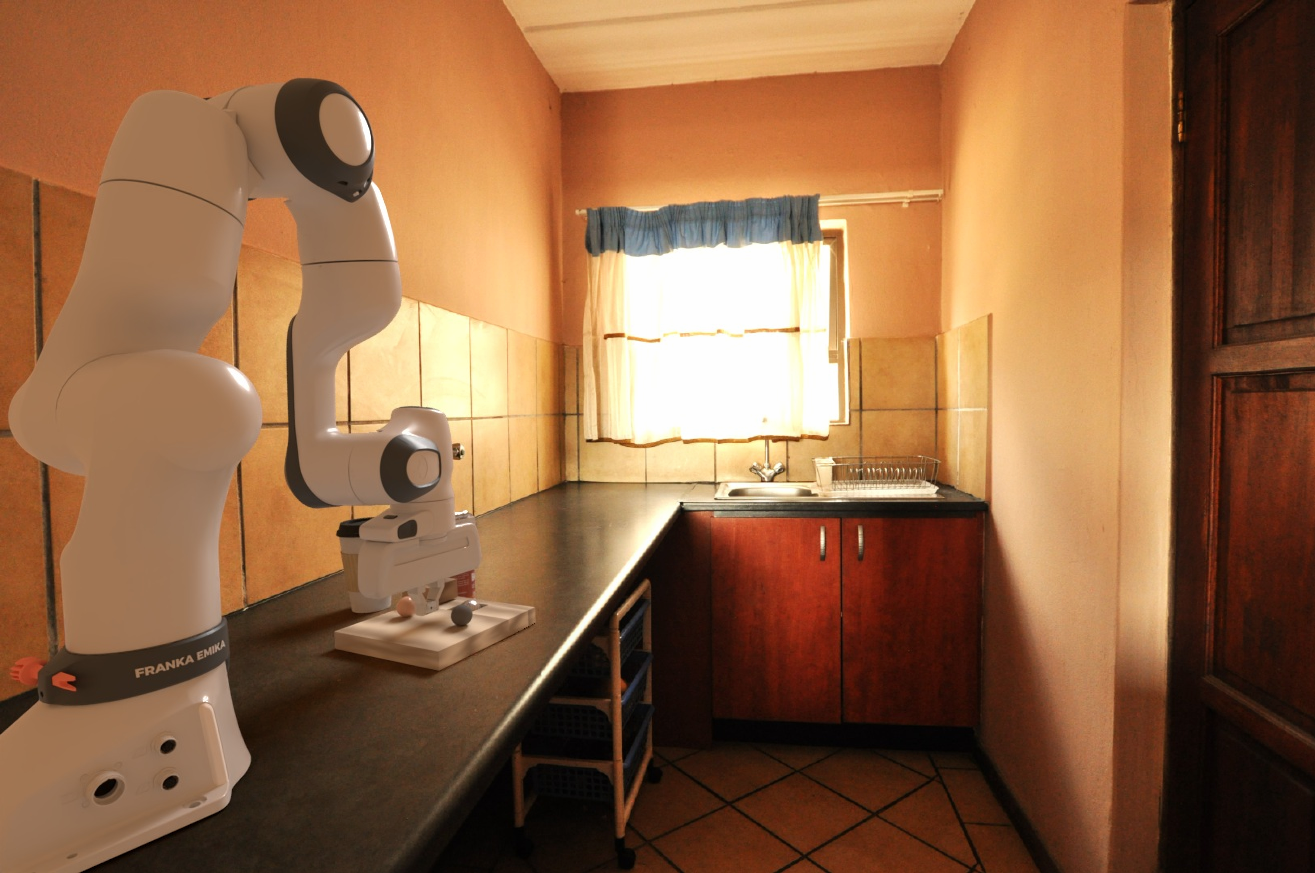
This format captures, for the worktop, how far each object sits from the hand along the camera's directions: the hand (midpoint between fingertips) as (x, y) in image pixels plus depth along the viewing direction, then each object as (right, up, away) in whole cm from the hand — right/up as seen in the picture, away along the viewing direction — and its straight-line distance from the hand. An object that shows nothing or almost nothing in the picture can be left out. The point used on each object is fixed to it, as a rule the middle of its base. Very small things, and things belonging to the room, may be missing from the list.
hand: (427, 613), depth 96 cm
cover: (-3, -1, +11) cm, 11 cm away
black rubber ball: (+5, 0, -1) cm, 6 cm away
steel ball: (+4, -2, +8) cm, 9 cm away
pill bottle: (-1, -3, +19) cm, 19 cm away
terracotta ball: (-4, 0, +4) cm, 6 cm away
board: (+1, -4, +2) cm, 5 cm away
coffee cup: (-16, -4, +17) cm, 24 cm away
